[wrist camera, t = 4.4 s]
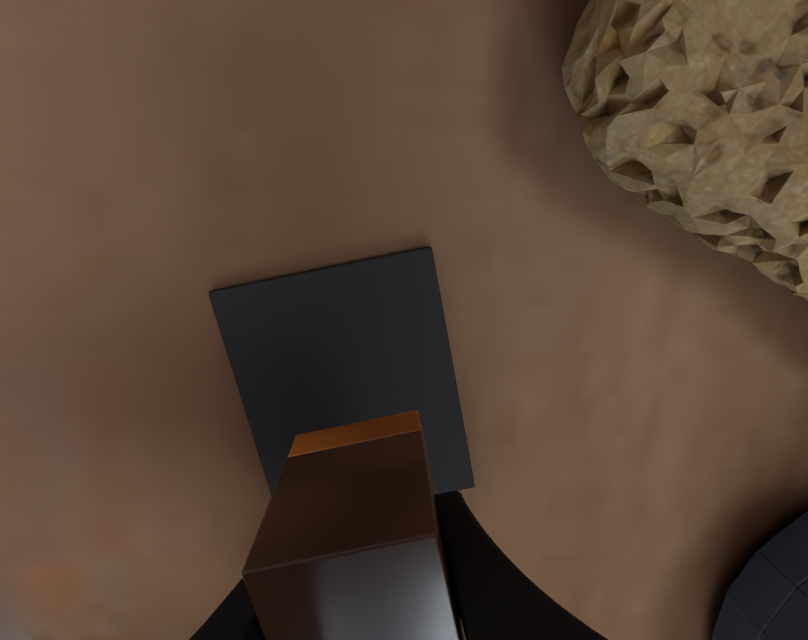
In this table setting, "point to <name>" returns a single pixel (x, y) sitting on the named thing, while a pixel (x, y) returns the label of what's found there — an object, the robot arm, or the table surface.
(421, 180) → the table surface
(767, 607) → the bowl
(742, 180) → the sponge
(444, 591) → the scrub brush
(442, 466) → the mat
